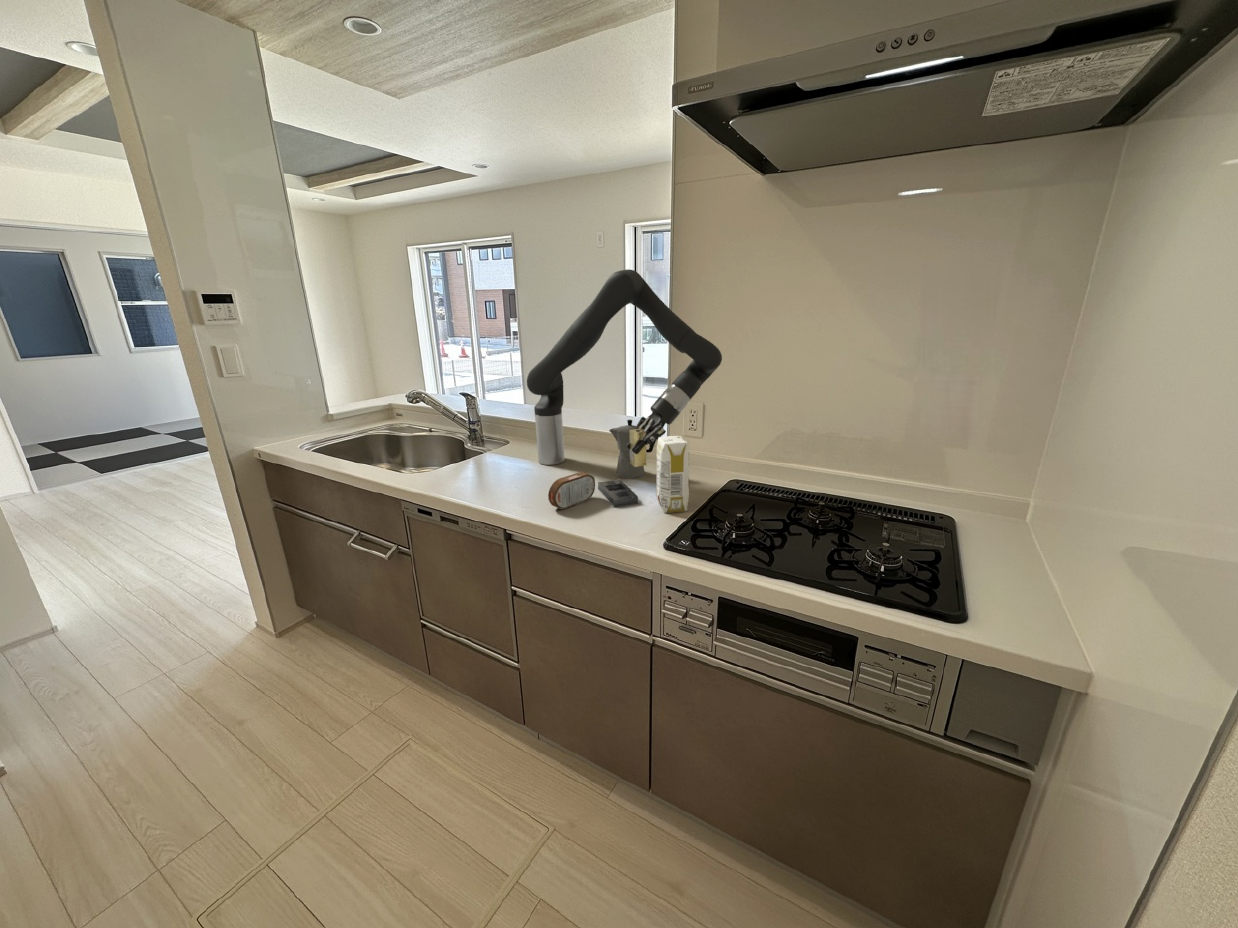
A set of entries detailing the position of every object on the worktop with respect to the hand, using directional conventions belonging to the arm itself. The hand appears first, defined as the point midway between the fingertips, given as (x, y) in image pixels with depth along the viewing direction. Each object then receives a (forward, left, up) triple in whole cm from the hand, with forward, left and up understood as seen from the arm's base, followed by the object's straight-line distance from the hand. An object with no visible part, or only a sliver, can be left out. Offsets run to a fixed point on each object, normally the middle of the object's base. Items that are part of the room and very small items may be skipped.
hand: (631, 450), depth 138 cm
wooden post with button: (0, +2, -5) cm, 5 cm away
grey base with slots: (+1, -5, -13) cm, 14 cm away
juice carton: (+15, +6, -13) cm, 21 cm away
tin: (+3, -18, -13) cm, 23 cm away
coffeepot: (-14, +6, -13) cm, 20 cm away
